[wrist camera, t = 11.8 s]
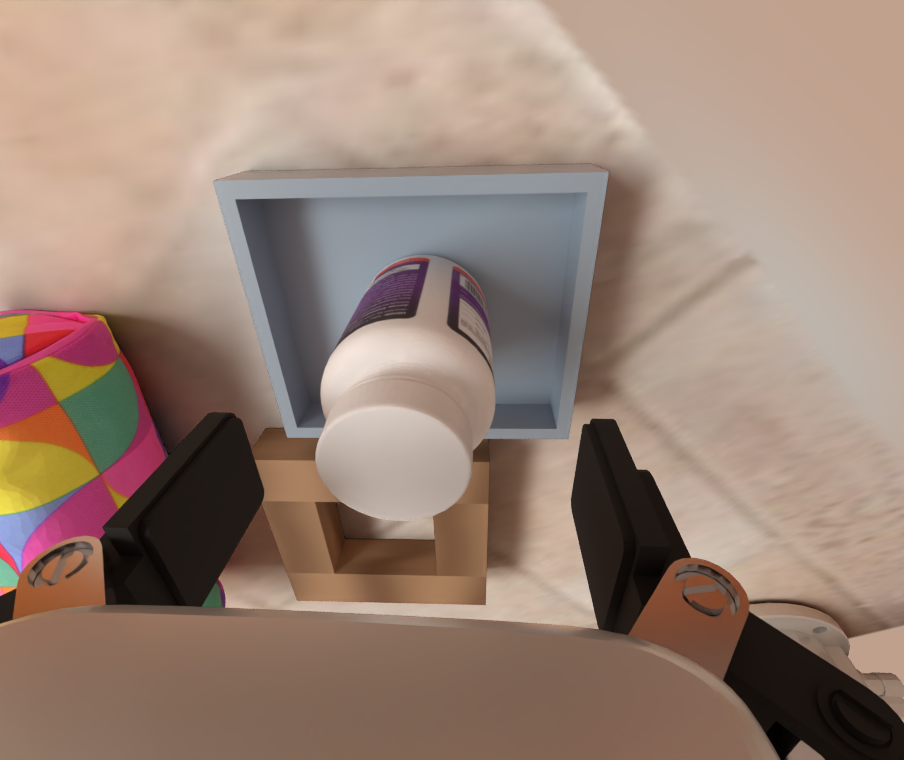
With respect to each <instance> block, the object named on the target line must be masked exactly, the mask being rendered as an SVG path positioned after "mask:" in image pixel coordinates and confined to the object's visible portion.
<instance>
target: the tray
mask: <svg viewBox="0 0 904 760" xmlns="http://www.w3.org/2000/svg"><path fill="white" fill-rule="evenodd" d="M608 175H609V172H608V171H606V170H604V169H602V168H600V167H598V166H596V165H594V164H592V163H587V164H543V165H499V166H455V167H411V168H367V169H323V170H279V171H244V172H240V173H237V174H234V175H230V176H227V177H224V178H220V179H217V180H213V184H214V187H215V191H216V194H217V198H218V201H219V205H220V208H221V211H222V215H223V218H224V222H225V225H226V229H227V232H228V235H229V239H230V242H231V246H232V249H233V253H234V256H235V260H236V263H237V266H238V270H239V273H240V277H241V280H242V284H243V287H244V291H245V294H246V297H247V301H248V304H249V308H250V311H251V315H252V318H253V322H254V325H255V328H256V332H257V335H258V339H259V342H260V346H261V349H262V353H263V356H264V359H265V363H266V366H267V370H268V373H269V377H270V380H271V384H272V387H273V390H274V394H275V397H276V401H277V404H278V408H279V411H280V414H281V418H282V421H283V425H284V428H285V432H286V435H287V438H320V436H321V433H322V431H323V428H324V426H325V423H326V419H325V416H324V413H323V410H322V405H321V396H320V392H321V381H322V377H323V373H324V370H325V367H326V365H327V362H328V360H329V358H330V356H331V354H332V352H333V350H334V348H335V347H336V345H337V343H338V341H339V339H340V337H341V336H342V334H343V332H344V330H345V328H346V326H347V325H348V323H349V321H350V319H351V317H352V316H353V314H354V312H355V310H356V308H357V306H358V305H359V303H360V301H361V299H362V297H363V295H364V293H365V291H366V290H367V288H368V286H369V285H370V283H371V282H372V280H373V279H374V278H375V276H376V275H377V274H378V273H379V272H380V271H381V270H382V269H383V268H385V267H386V266H387V265H389V264H390V263H392V262H394V261H396V260H399V259H401V258H404V257H408V256H413V255H433V256H438V257H442V258H445V259H448V260H450V261H453V262H454V263H456V264H458V265H459V266H461V267H462V268H464V269H465V270H466V271H467V272H468V273H470V275H471V276H472V277H473V278H474V279H475V280H476V282H477V283H478V285H479V286H480V288H481V290H482V292H483V295H484V297H485V300H486V304H487V309H488V316H489V326H490V336H491V348H492V358H493V370H494V380H495V399H496V401H495V412H494V416H493V420H492V423H491V426H490V428H489V430H488V432H487V434H486V436H485V437H484V439H569V433H570V426H571V420H572V413H573V406H574V400H575V393H576V387H577V380H578V373H579V367H580V360H581V354H582V347H583V340H584V334H585V327H586V321H587V314H588V307H589V301H590V294H591V288H592V281H593V274H594V268H595V261H596V255H597V248H598V241H599V235H600V228H601V221H602V215H603V208H604V202H605V195H606V188H607V182H608Z"/></svg>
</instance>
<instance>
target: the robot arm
mask: <svg viewBox="0 0 904 760" xmlns="http://www.w3.org/2000/svg"><path fill="white" fill-rule="evenodd" d="M263 499H264V487H263V484H262V481H261V477H260V474H259V471H258V468H257V465H256V462H255V459H254V456H253V453H252V450H251V447H250V444H249V441H248V438H247V435H246V432H245V429H244V426H243V423H242V421H241V420H240V419H239V418H236V416H235V415H234V414H233V413H217V412H212V413H209V414H208V415H206V416H205V417H204V419H203V420H202V421H201V422H200V423H199V424H198V425H197V426H196V427H195V428H194V429H193V430H192V431H191V432H190V433H189V435H188V436H187V437H186V438H185V439H184V440H183V441H182V442H181V443H180V444H179V445H178V446H177V447H176V448H175V450H174V451H173V452H172V453H171V454H170V455H169V456H168V457H167V458H166V459H165V460H164V461H163V462H162V463H161V465H160V466H159V467H158V468H157V469H156V470H155V471H154V472H153V473H152V474H151V475H150V476H149V477H148V478H147V480H146V481H145V482H144V483H143V484H142V485H141V486H140V487H139V488H138V489H137V490H136V491H135V492H134V493H133V494H132V496H131V497H130V498H129V499H128V500H127V501H126V502H125V503H124V504H123V505H122V506H121V507H120V508H119V509H118V511H117V512H116V513H115V514H114V515H113V516H112V517H111V518H110V519H109V520H108V521H107V522H106V523H105V524H104V526H103V527H102V528H103V530H104V532H105V534H104V535H103V536H102V537H101V538H100V539H97V538H95V537H92V536H79V537H73V538H70V539H67V540H64V541H61V542H59V543H57V544H55V545H53V546H51V547H49V548H48V549H46V550H45V551H43V552H42V553H40V554H39V555H37V556H36V557H35V558H34V559H33V560H32V561H31V562H29V563H28V564H27V566H26V567H25V568H24V570H23V571H22V572H21V574H20V577H19V579H18V582H17V588H16V589H14V590H12V591H10V592H7V593H5V594H3V595H1V596H0V760H904V723H903V721H902V720H901V719H904V700H903V698H902V697H903V696H904V686H903V684H902V682H901V681H900V680H899V679H898V677H897V676H896V675H894V674H892V673H869V674H866V673H865V674H863V673H861V672H860V671H858V670H857V669H855V667H854V666H853V664H852V663H851V661H850V660H849V658H848V654H849V648H850V645H849V641H848V638H847V636H846V635H845V633H844V632H843V630H842V629H841V628H840V626H839V625H838V623H837V622H836V621H835V620H834V619H832V618H831V617H830V616H829V615H827V614H825V613H823V612H821V611H819V610H816V609H813V608H809V607H806V606H803V605H796V604H789V603H758V604H749V600H748V597H747V594H746V592H745V590H744V589H743V587H742V586H741V584H740V583H739V582H738V581H737V580H736V579H735V578H734V577H733V576H732V575H731V574H730V573H729V572H727V571H726V570H724V569H723V568H721V567H720V566H718V565H716V564H714V563H711V562H709V561H707V560H702V559H698V558H691V556H690V554H689V552H688V550H687V548H686V546H685V544H684V542H683V539H682V537H681V535H680V533H679V531H678V529H677V527H676V525H675V523H674V520H673V518H672V516H671V514H670V512H669V510H668V508H667V506H666V504H665V501H664V499H663V497H662V495H661V493H660V491H659V489H658V487H657V485H656V482H655V480H654V478H653V476H652V475H651V473H650V472H649V471H648V470H637V468H636V466H635V464H634V462H633V459H632V457H631V455H630V453H629V450H628V448H627V446H626V443H625V441H624V439H623V437H622V434H621V432H620V430H619V427H618V425H617V423H616V421H615V420H614V419H591V421H590V424H584V425H583V428H582V434H581V440H580V446H579V453H578V459H577V465H576V471H575V478H574V484H573V490H572V496H571V508H572V514H573V518H574V522H575V527H576V531H577V536H578V540H579V545H580V549H581V553H582V558H583V562H584V567H585V571H586V576H587V580H588V584H589V589H590V593H591V598H592V602H593V606H594V611H595V615H596V620H597V624H598V628H599V629H591V628H582V627H574V626H565V625H552V624H537V623H523V622H509V621H493V620H474V619H455V618H435V617H416V616H397V615H376V614H355V613H334V612H312V611H290V610H267V609H242V608H218V607H202V605H203V604H204V602H205V600H206V599H207V597H208V595H209V593H210V592H211V590H212V588H213V586H214V585H215V583H216V581H217V580H218V578H219V576H220V574H221V573H222V571H223V569H224V567H225V566H226V564H227V562H228V560H229V559H230V557H231V555H232V554H233V552H234V550H235V548H236V547H237V545H238V543H239V541H240V540H241V538H242V536H243V534H244V533H245V531H246V529H247V528H248V526H249V524H250V522H251V521H252V519H253V517H254V515H255V514H256V512H257V510H258V509H259V507H260V505H261V503H262V501H263Z"/></svg>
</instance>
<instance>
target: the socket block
mask: <svg viewBox="0 0 904 760" xmlns="http://www.w3.org/2000/svg"><path fill="white" fill-rule="evenodd" d="M318 440H319V438H287V435H286V432H285V428H266V429H265V430H264V432H263V433H262V435H261V436H260V438H259V440H258V441H257V443H256V444H255V446H254V447H253V449H252V453H253V456H254V459H255V462H256V465H257V468H258V471H259V474H260V477H261V481H262V484H263V487H264V499H263V501H262V506H263V509H264V512H265V514H266V517H267V520H268V522H269V525H270V528H271V531H272V533H273V536H274V539H275V541H276V544H277V547H278V550H279V552H280V555H281V558H282V560H283V563H284V566H285V568H286V571H287V574H288V577H289V579H290V582H291V585H292V587H293V590H294V593H295V596H296V598H297V601H339V602H381V603H424V604H467V605H486V571H487V535H488V499H489V464H490V461H489V440H488V439H483V440H482V441H481V443H480V444H479V445H478V446H477V447H476V448H475V449H474V450H473V463H472V475H471V480H470V483H469V485H468V487H467V489H466V491H465V493H464V494H463V495H462V497H461V498H460V499H459V500H458V501H457V502H456V503H455V504H454V505H452V506H451V507H449V508H448V509H447V510H445V511H443V512H441V513H438V514H436V515H434V516H433V520H434V534H435V540H385V539H345V538H344V534H343V530H342V525H341V521H340V517H339V513H338V509H337V504H336V502H341V501H340V500H338V499H337V498H336V497H335V496H334V495H333V494H332V493H331V492H330V491H329V490H328V488H327V487H326V486H325V485H324V483H323V481H322V480H321V478H320V476H319V473H318V470H317V465H316V455H315V454H316V448H317V443H318Z"/></svg>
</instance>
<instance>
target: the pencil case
mask: <svg viewBox="0 0 904 760" xmlns="http://www.w3.org/2000/svg"><path fill="white" fill-rule="evenodd" d="M167 457H168V455H167V452H166V450H165V448H164V446H163V444H162V442H161V439H160V437H159V434H158V431H157V429H156V426H155V424H154V422H153V419H152V417H151V415H150V413H149V410H148V407H147V405H146V402H145V400H144V397H143V395H142V392H141V389H140V387H139V384H138V382H137V379H136V377H135V375H134V372H133V370H132V368H131V366H130V365H129V363H128V361H127V359H126V358H125V356H124V355H123V353H122V351H121V350H120V348H119V346H118V345H117V343H116V341H115V339H114V337H113V335H112V332H111V330H110V328H109V327H108V325H107V322H106V319H105V318H104V317H103V316H101V315H97V314H93V315H87V314H82V313H79V312H49V311H36V310H10V311H2V312H0V596H1V595H3V594H5V593H7V592H10V591H12V590H14V589H16V588H17V582H18V579H19V577H20V574H21V572H22V571H23V570H24V568H25V567H26V566H27V564H28V563H29V562H31V561H32V560H33V559H34V558H35V557H36V556H37V555H39V554H40V553H42V552H43V551H45V550H46V549H48V548H49V547H51V546H53V545H55V544H57V543H59V542H61V541H64V540H67V539H70V538H73V537H79V536H92V537H95V538H97V539H100V538H101V537H102V536H103V535H104V534H105V532H104V530H103V528H102V527H103V526H104V524H105V523H106V522H107V521H108V520H109V519H110V518H111V517H112V516H113V515H114V514H115V513H116V512H117V511H118V509H119V508H120V507H121V506H122V505H123V504H124V503H125V502H126V501H127V500H128V499H129V498H130V497H131V496H132V494H133V493H134V492H135V491H136V490H137V489H138V488H139V487H140V486H141V485H142V484H143V483H144V482H145V481H146V480H147V478H148V477H149V476H150V475H151V474H152V473H153V472H154V471H155V470H156V469H157V468H158V467H159V466H160V465H161V463H162V462H163V461H164V460H165V459H166V458H167ZM202 607H218V608H225V593H224V589H223V586H222V584H221V582H220V581H219V579H218V580H217V581H216V583H215V585H214V586H213V588H212V590H211V592H210V593H209V595H208V597H207V599H206V600H205V602H204V604H203V605H202Z"/></svg>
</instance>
